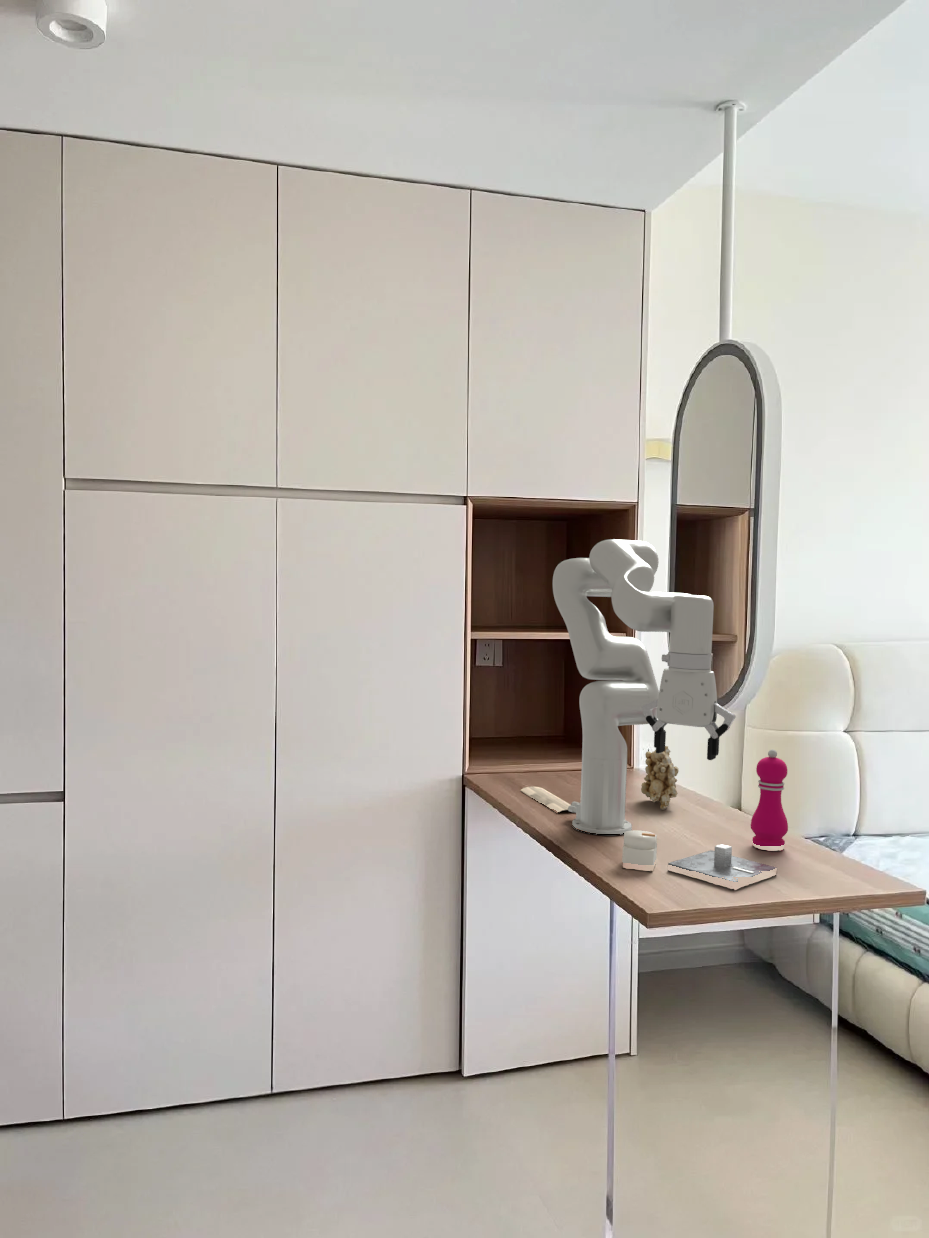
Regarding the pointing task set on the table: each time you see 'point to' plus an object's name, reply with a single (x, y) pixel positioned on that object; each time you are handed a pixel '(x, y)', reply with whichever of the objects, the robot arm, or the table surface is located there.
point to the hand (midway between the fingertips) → (685, 755)
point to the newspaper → (546, 798)
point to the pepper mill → (770, 802)
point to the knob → (639, 847)
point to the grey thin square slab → (721, 864)
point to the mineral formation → (660, 777)
